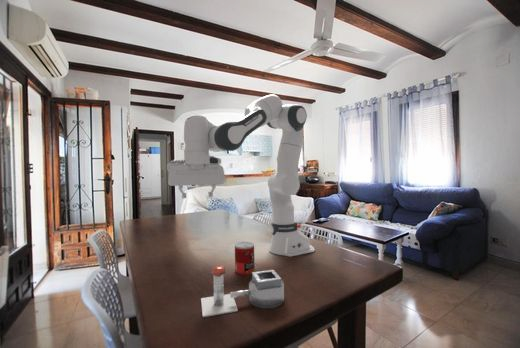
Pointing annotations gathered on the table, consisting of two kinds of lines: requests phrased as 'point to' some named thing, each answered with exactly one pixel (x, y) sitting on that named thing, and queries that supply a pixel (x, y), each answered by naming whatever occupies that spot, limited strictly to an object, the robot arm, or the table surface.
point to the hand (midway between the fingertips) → (197, 197)
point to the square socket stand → (264, 290)
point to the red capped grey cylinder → (218, 284)
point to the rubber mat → (211, 309)
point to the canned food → (244, 258)
